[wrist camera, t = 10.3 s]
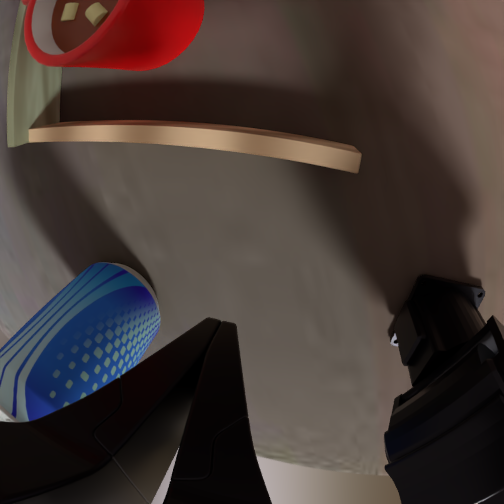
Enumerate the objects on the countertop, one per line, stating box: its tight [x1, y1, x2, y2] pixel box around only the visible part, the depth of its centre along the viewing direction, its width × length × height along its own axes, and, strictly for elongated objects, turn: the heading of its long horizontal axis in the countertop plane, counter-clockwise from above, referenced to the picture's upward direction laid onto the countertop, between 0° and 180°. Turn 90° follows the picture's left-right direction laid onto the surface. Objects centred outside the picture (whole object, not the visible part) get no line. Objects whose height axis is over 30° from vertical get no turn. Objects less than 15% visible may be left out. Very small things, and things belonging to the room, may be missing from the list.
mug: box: [21, 0, 204, 71], centre depth 11 cm, size 8×12×8 cm, turn 66°
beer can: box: [0, 262, 160, 422], centre depth 18 cm, size 8×8×16 cm
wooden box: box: [7, 1, 362, 174], centre depth 12 cm, size 23×18×5 cm
